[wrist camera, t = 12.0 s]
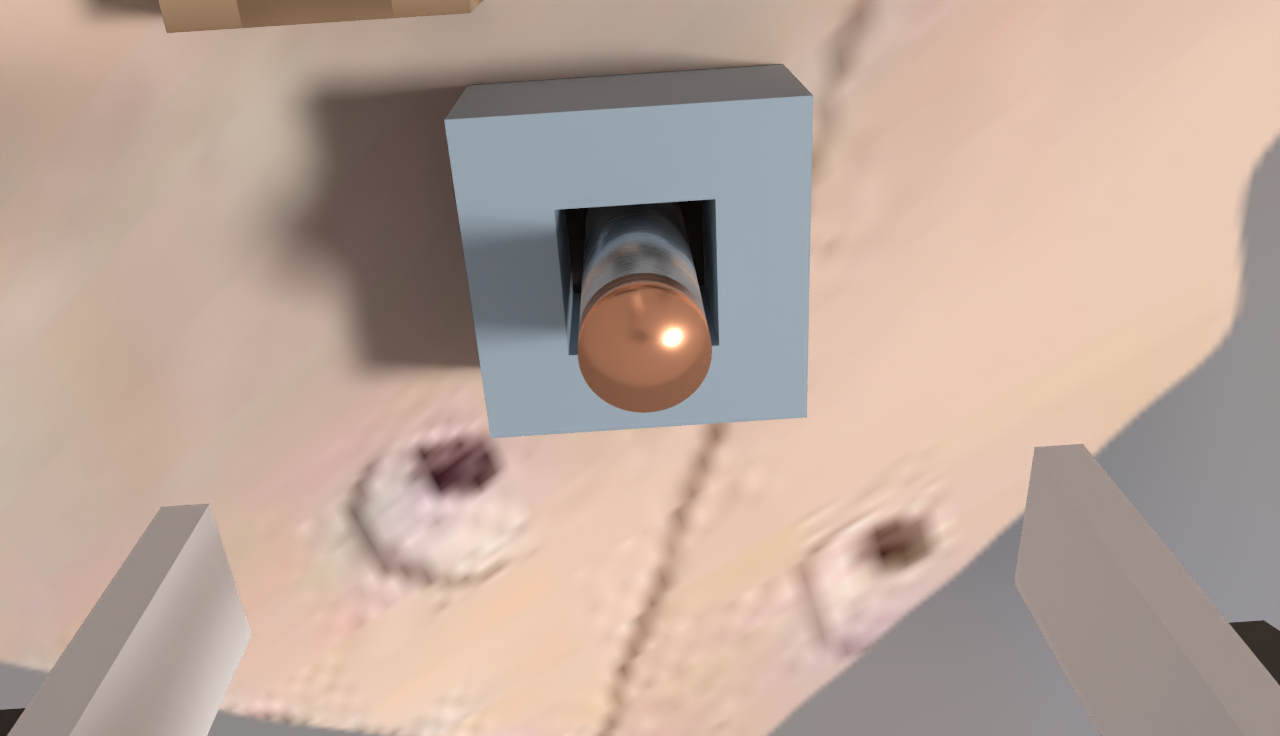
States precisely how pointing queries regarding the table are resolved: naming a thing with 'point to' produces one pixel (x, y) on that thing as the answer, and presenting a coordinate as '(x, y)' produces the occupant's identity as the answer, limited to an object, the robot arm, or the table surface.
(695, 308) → the lock pin
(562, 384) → the socket
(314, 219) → the table surface
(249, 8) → the mount
